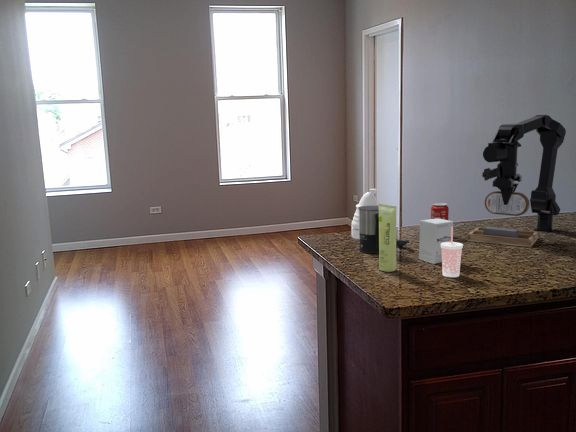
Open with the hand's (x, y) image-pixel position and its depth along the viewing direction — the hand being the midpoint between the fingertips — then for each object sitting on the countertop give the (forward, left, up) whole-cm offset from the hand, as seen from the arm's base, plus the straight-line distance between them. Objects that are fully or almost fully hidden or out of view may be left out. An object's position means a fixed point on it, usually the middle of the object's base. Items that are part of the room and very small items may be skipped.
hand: (506, 204), depth 209 cm
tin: (+1, 0, -4) cm, 4 cm away
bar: (+7, 0, -12) cm, 14 cm away
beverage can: (+7, -22, -13) cm, 26 cm away
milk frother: (+36, -32, -13) cm, 50 cm away
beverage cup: (+56, -3, -13) cm, 57 cm away
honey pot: (+19, -45, -13) cm, 50 cm away
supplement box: (+42, -12, -13) cm, 45 cm away
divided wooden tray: (+4, 0, -12) cm, 13 cm away
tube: (+59, -21, -13) cm, 64 cm away
